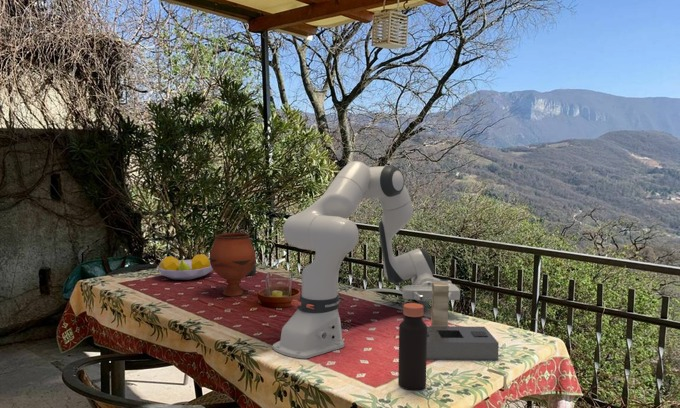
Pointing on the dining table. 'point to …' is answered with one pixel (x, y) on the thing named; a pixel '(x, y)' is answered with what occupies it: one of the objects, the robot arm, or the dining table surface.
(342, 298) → the pliers
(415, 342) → the bottle
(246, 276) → the jar
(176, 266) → the fruit bowl
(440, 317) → the birch peg
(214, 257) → the goblet
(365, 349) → the dining table surface
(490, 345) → the socket block
